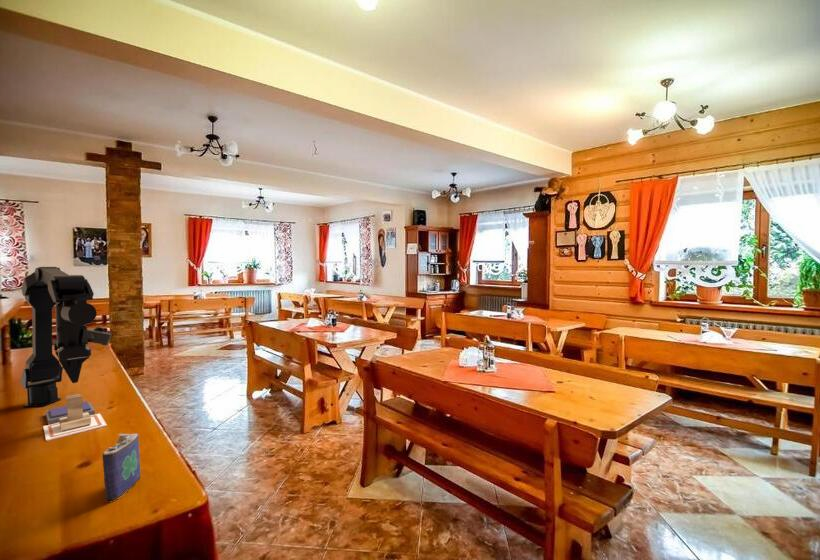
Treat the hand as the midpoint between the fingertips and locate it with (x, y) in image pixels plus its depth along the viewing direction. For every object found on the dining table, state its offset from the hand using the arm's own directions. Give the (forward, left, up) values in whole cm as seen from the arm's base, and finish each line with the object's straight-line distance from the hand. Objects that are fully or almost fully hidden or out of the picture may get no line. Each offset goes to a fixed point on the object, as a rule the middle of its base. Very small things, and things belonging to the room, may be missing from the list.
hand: (73, 379), depth 104 cm
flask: (+34, -32, -13) cm, 49 cm away
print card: (+1, -1, -13) cm, 13 cm away
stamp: (+1, -1, -13) cm, 13 cm away
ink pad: (-8, +8, -13) cm, 17 cm away
